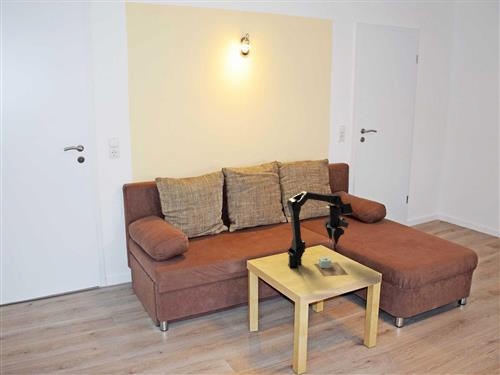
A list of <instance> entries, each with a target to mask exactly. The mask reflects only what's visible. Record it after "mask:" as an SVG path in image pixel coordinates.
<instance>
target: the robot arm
mask: <svg viewBox="0 0 500 375" xmlns="http://www.w3.org/2000/svg"><path fill="white" fill-rule="evenodd" d="M309 200H312V201H318V202H319V201H320V202H326V203H329V204H328V205H326V206H325V208H326V209H328V210H329V212H328V214H329V215H328V216H327V219H328V220H324V222H323V226H324V228H325V230H326V234H327V236H328V238H329V240H332V239H333V241H334V242H333V243H334V244H335V245H338V243H339V239H340V237H342V236H344V235H345V230H344V229H343V228H345V229H348V227H349V225H350V223H349V222H348V221H347V220H345V218H344V217H340V215H341V216H346V215H347V216H348V215H352V214H353V213H354V211H353V206H352V204H351V202H343V201H342V197H341V195H338V194H336V193H334V192H333V193H331V192H330V193H324V194H323V193H320V192H319V193H318V192H313V191H312V192H311V191H307V190H304V191H301V192H300V193H298V194H297V195H294V196H293V197H291V198H289V199H288V200H287V202H286V205H287V209H288V211H289V213H290V220H291V230H292V240H291V245H290V247H289V249H288V250H287V251H286V253H287V254H288V263H287V266H288V267H289V269H290V270H291V269H293V270H294V269H299V266H302V258H303V256H304V254H305V252H306V249H307V247H306V241H305V240H303V239H302V233H301V232H302V231H301V230H302V229H301V221H300V220H301V219H300V214H301V211H302V207H303V206H304V205H305V203H307V202H308V201H309ZM342 227H343V228H342Z"/></svg>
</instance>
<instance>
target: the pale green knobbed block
mask: <svg viewBox="0 0 500 375" xmlns="http://www.w3.org/2000/svg"><path fill="white" fill-rule="evenodd" d="M318 263H319V265H320V267H321V268H331V263H332V259H330V257H325V256H324V257H323V256H322V257H318Z"/></svg>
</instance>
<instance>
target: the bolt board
mask: <svg viewBox="0 0 500 375" xmlns="http://www.w3.org/2000/svg"><path fill="white" fill-rule="evenodd" d="M313 265H314V266H315V268H317V270H318V271H319V273H321V275H322V276H323V277H333V276H348V275H349V273H348V272H347V271H346V270H345V269H344V268H343V267H342V265H340V263H338V262H336V261H335V262H331V268H321V267H320V265H319V262H318V263H313Z"/></svg>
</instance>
